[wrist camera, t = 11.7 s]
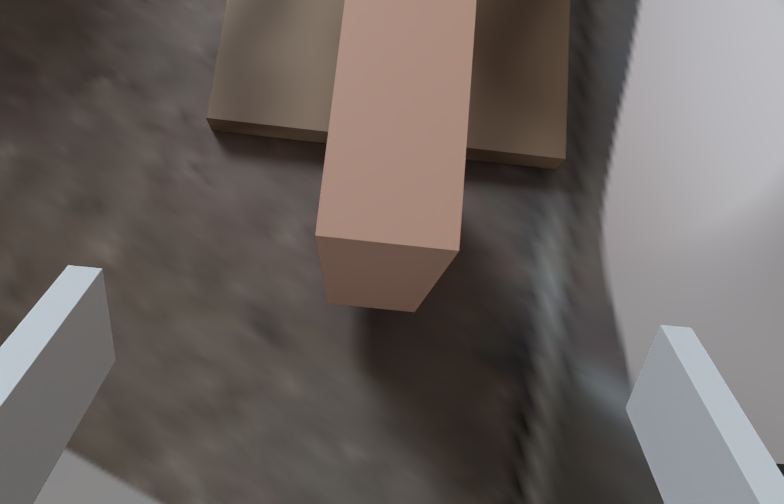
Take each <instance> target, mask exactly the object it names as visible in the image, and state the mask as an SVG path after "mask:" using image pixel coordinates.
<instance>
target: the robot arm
mask: <svg viewBox="0 0 784 504" xmlns="http://www.w3.org/2000/svg"><path fill="white" fill-rule="evenodd" d="M115 360H116V359H115V352H114V345H113V339H112V332H111V325H110V318H109V311H108V304H107V297H106V290H105V284H104V277H103V270H102V268H92V267H82V266H72V265H68V266H67V267H66V269H65V270H64V271H63V272H62V273H61V275H60V276H59V277H58V278H57V279H56V281H55V282H54V283H53V284H52V285H51V287H50V288H49V289H48V290H47V291H46V293H45V294H44V295H43V296H42V297H41V299H40V300H39V301H38V302H37V303H36V305H35V306H34V307H33V308H32V310H31V311H30V312H29V313H28V314H27V316H26V317H25V318H24V319H23V320H22V322H21V323H20V324H19V325H18V326H17V328H16V329H15V330H14V331H13V332H12V334H11V335H10V336H9V337H8V338H7V340H6V341H5V342H4V343H3V344H2V346H1V347H0V504H33V502H34V501H35V499H36V497H37V495H38V494H39V492H40V490H41V488H42V487H43V485H44V483H45V482H46V480H47V478H48V476H49V475H50V473H51V471H52V470H53V468H54V466H55V464H56V463H57V461H58V459H59V457H60V456H61V454H62V452H63V450H64V449H65V447H66V445H67V444H68V442H69V440H70V438H71V437H72V435H73V433H74V431H75V430H76V428H77V426H78V424H79V423H80V421H81V419H82V418H83V416H84V414H85V412H86V411H87V409H88V407H89V405H90V404H91V402H92V400H93V398H94V397H95V395H96V393H97V392H98V390H99V388H100V386H101V385H102V383H103V381H104V379H105V378H106V376H107V374H108V372H109V371H110V369H111V367H112V366H113V364H114V362H115ZM626 411H627V413H628V416H629V418H630V421H631V423H632V425H633V428H634V430H635V433H636V435H637V438H638V440H639V443H640V445H641V448H642V450H643V452H644V455H645V457H646V460H647V462H648V465H649V467H650V470H651V472H652V474H653V477H654V479H655V482H656V484H657V487H658V489H659V492H660V494H661V496H662V499H663V501H664V504H784V464H776V463H775V462H774V460H773V459H772V457H771V455H770V454H769V452H768V451H767V449H766V447H765V446H764V444H763V443H762V441H761V439H760V438H759V436H758V435H757V433H756V432H755V430H754V428H753V427H752V425H751V423H750V422H749V420H748V418H747V417H746V415H745V414H744V412H743V410H742V409H741V407H740V406H739V404H738V402H737V401H736V399H735V397H734V396H733V394H732V393H731V391H730V389H729V388H728V386H727V385H726V383H725V381H724V380H723V378H722V377H721V375H720V373H719V372H718V370H717V368H716V367H715V365H714V364H713V362H712V361H711V359H710V357H709V356H708V354H707V352H706V351H705V349H704V348H703V346H702V344H701V343H700V341H699V339H698V338H697V336H696V335H695V333H694V332H693V330H692V328H688V327H678V326H667V325H660V326H659V329H658V331H657V333H656V336H655V338H654V341H653V343H652V346H651V348H650V350H649V353H648V355H647V358H646V360H645V362H644V365H643V367H642V370H641V372H640V375H639V377H638V379H637V382H636V384H635V386H634V389H633V391H632V394H631V396H630V398H629V401H628V403H627V406H626Z"/></svg>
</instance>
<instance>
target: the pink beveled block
mask: <svg viewBox="0 0 784 504" xmlns="http://www.w3.org/2000/svg"><path fill="white" fill-rule="evenodd" d="M476 1H477V0H345V2H344V10H343V18H342V26H341V34H340V42H339V50H338V58H337V66H336V74H335V82H334V90H333V98H332V106H331V114H330V121H329V129H328V137H327V145H326V153H325V161H324V169H323V177H322V185H321V193H320V201H319V209H318V217H317V225H316V233H315V237H316V243H317V248H318V254H319V259H320V265H321V270H322V276H323V281H324V286H325V292H326V297H327V303H329V304H338V305H348V306H358V307H368V308H377V309H387V310H397V311H407V312H415V311H416V310H417V308H418V307H419V306H420V304H421V303H422V301H423V300H424V299H425V297H426V296H427V294H428V293H429V292H430V290H431V289H432V288H433V286H434V285H435V283H436V282H437V281H438V279H439V278H440V277H441V275H442V274H443V272H444V271H445V270H446V268H447V267H448V266H449V264H450V263H451V261H452V260H453V259H454V257H455V256H456V255H457V253H458V252H459V246H460V232H461V217H462V203H463V189H464V174H465V160H466V145H467V131H468V116H469V102H470V88H471V73H472V59H473V44H474V30H475V15H476Z"/></svg>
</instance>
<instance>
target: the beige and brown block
mask: <svg viewBox="0 0 784 504" xmlns="http://www.w3.org/2000/svg"><path fill="white" fill-rule="evenodd" d="M344 2H345V0H227V1H226V6H225V12H224V18H223V23H222V29H221V35H220V40H219V46H218V52H217V57H216V63H215V69H214V74H213V80H212V86H211V91H210V97H209V103H208V108H207V114H206V119H207V121H208V123H209V125H210V127H211V129H212V131H221V132H230V133H239V134H248V135H256V136H265V137H274V138H283V139H292V140H300V141H309V142H318V143H327V137H328V129H329V121H330V114H331V106H332V98H333V90H334V82H335V74H336V66H337V58H338V50H339V42H340V34H341V26H342V18H343V10H344ZM569 29H570V0H477V1H476V15H475V30H474V44H473V59H472V73H471V88H470V102H469V116H468V131H467V145H466V159H468V160H476V161H485V162H494V163H503V164H512V165H520V166H529V167H538V168H547V169H557V168H558V167H559V166H560V165H561V164H562V163H563V161H564V160H565V159H566V131H567V97H568V63H569Z"/></svg>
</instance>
